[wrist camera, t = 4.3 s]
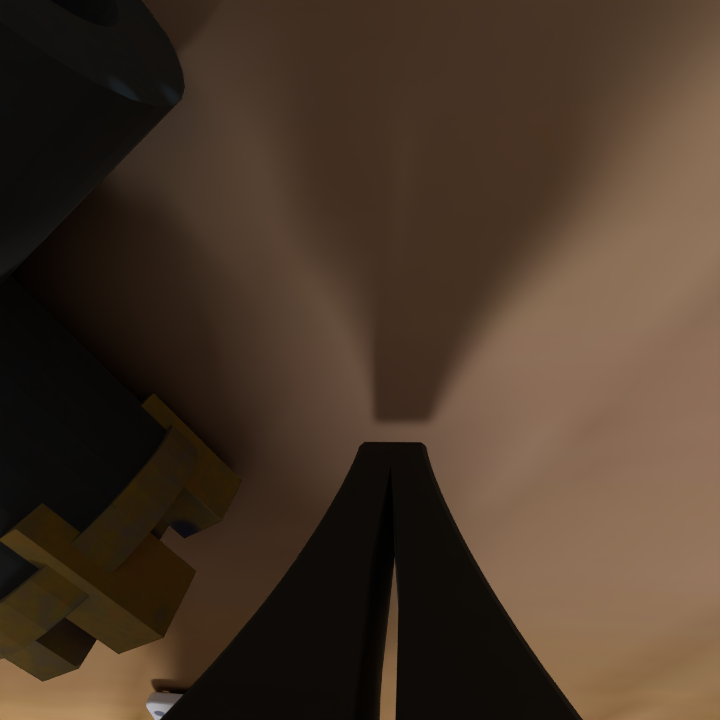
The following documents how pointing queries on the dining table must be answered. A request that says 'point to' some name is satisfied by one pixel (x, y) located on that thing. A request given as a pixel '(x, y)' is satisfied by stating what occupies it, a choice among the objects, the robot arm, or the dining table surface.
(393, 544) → the robot arm
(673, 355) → the dining table surface
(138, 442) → the pipe connector
